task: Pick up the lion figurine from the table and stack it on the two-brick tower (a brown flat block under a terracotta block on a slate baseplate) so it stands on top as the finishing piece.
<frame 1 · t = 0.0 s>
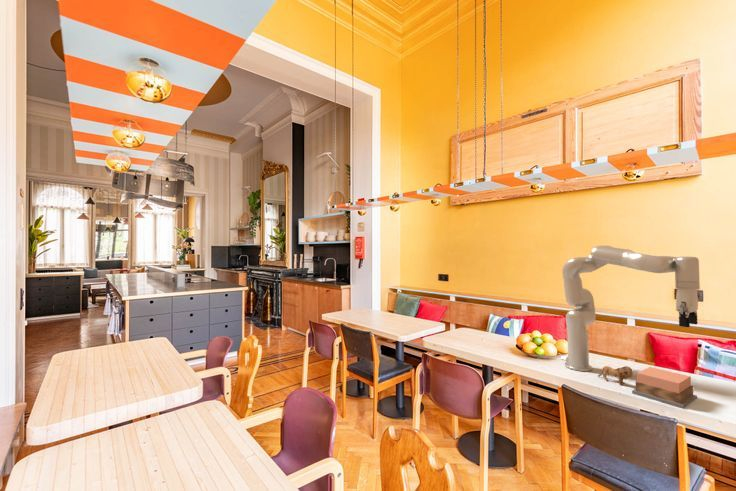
hand: (688, 325, 142), 31 cm above the table, tool pointing down, fingers open, 9 cm apart
brown flat block: (663, 388, 144), on the baseplate, point 3 cm above the table
baseplate: (664, 395, 144), on the table
lion figurine: (615, 382, 160), on the table
top brick: (663, 379, 144), on the brown flat block, point 7 cm above the table
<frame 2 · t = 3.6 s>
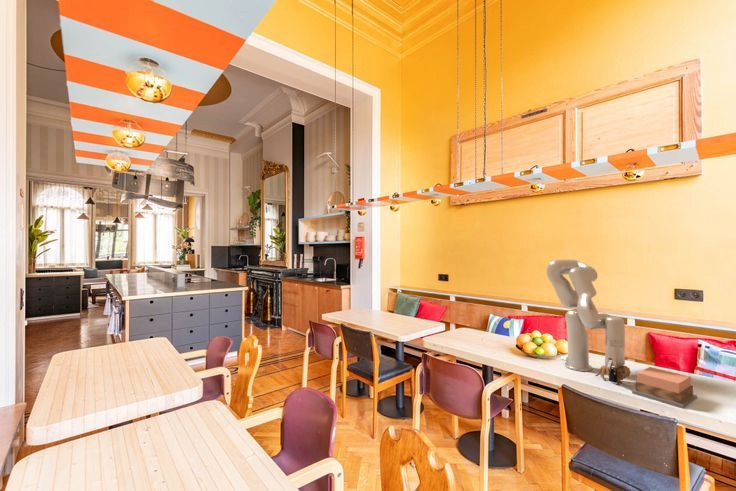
hand: (616, 380, 160), 1 cm above the table, tool pointing down, fingers open, 5 cm apart
lion figurine: (613, 382, 160), on the table, touching gripper
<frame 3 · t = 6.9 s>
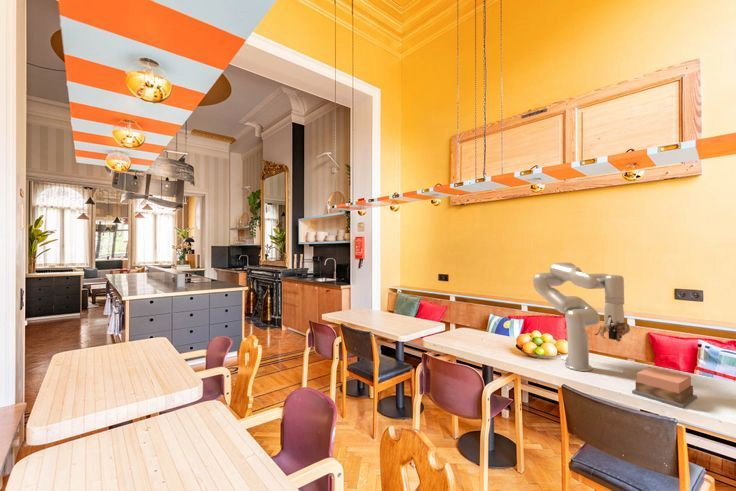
hand: (615, 338, 160), 21 cm above the table, tool pointing down, fingers closed on lion figurine, 4 cm apart
lion figurine: (613, 339, 161), point 20 cm above the table, touching gripper
when the fingers open (12 cm above the table, at t = 10.2 s): lion figurine drops 2 cm, resting on top brick.
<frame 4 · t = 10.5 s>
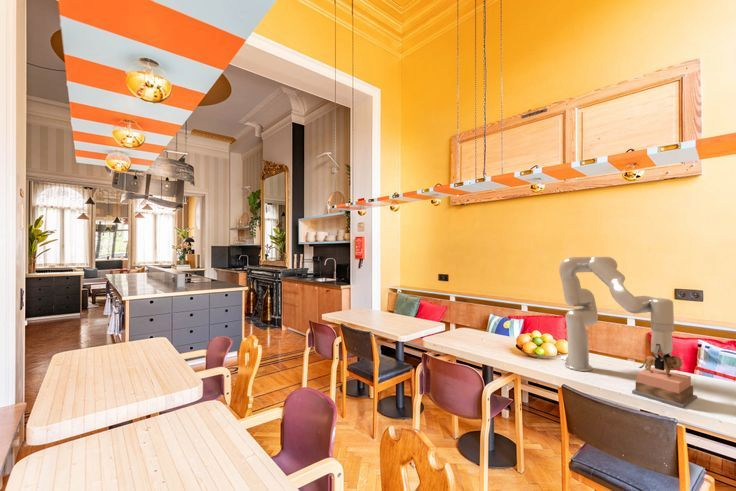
hand: (663, 367, 144), 12 cm above the table, tool pointing down, fingers open, 7 cm apart
lion figurine: (661, 374, 145), point 9 cm above the table, touching top brick
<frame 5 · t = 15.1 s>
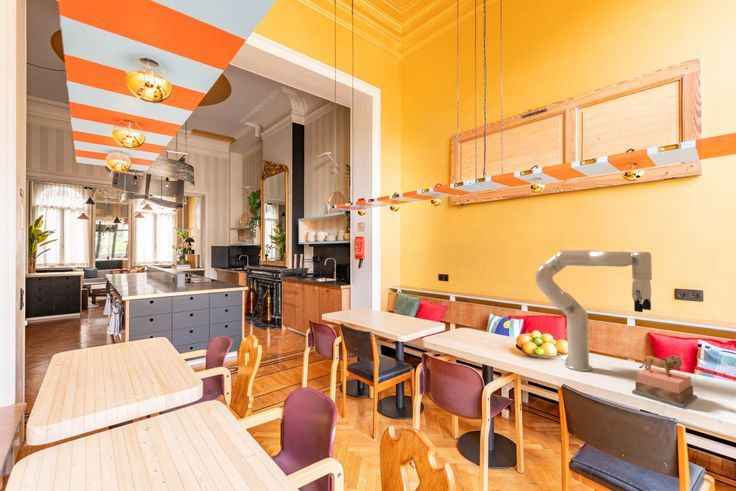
hand: (642, 310, 165), 33 cm above the table, tool pointing down, fingers open, 9 cm apart
nothing on the table moved.
at the end: lion figurine 1.1 cm off-centre on the top brick, point 9.0 cm above the top brick's base; lion figurine tilted 0°; the gripper is holding nothing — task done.
